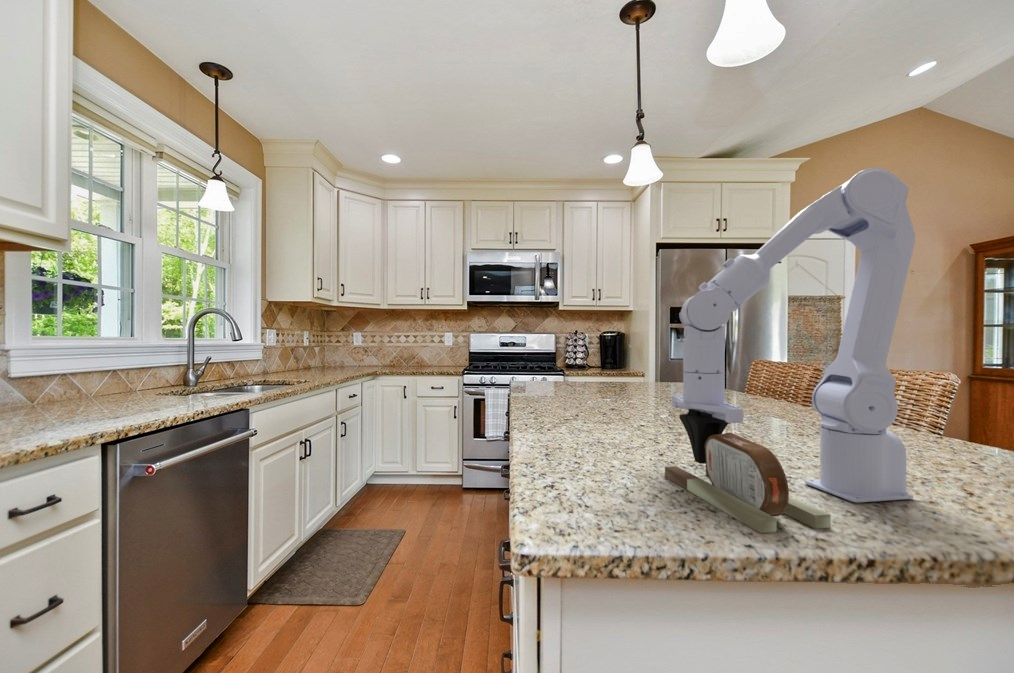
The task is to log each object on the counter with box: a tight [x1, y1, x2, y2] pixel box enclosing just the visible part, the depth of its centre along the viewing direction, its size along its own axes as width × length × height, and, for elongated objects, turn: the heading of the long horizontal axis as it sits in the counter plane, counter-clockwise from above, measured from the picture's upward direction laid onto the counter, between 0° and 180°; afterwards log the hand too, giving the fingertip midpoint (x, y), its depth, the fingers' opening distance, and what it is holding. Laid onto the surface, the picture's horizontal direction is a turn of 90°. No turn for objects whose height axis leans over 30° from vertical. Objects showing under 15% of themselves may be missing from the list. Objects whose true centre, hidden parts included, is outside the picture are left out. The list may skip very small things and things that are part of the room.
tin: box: [705, 432, 790, 518], centre depth 56 cm, size 15×3×8 cm, turn 2°
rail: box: [664, 465, 832, 534], centre depth 58 cm, size 9×20×2 cm, turn 10°
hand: (703, 462), depth 65 cm, fingers closed
